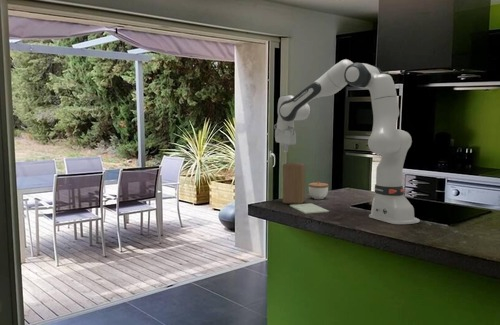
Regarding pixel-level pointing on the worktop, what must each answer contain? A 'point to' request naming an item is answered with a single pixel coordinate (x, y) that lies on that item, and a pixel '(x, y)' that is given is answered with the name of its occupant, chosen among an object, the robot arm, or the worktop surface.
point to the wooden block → (293, 183)
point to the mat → (309, 208)
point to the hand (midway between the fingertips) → (285, 152)
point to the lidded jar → (318, 190)
